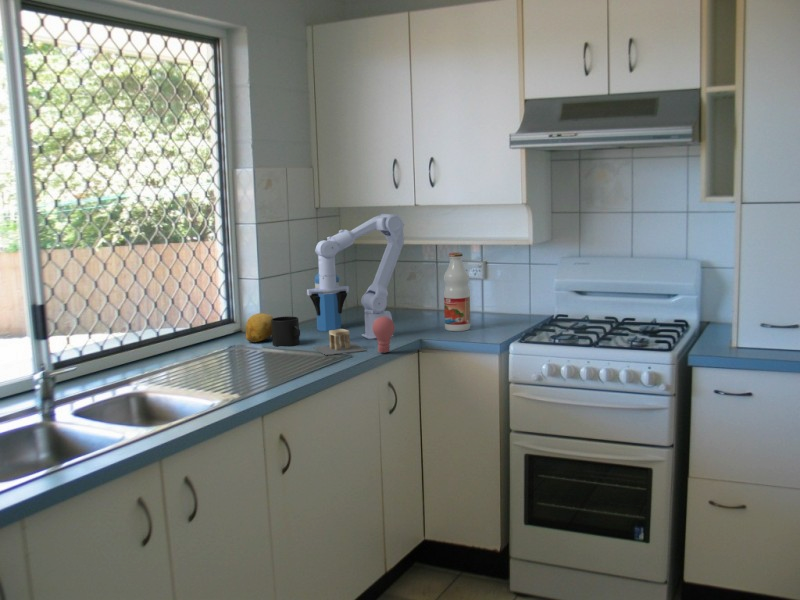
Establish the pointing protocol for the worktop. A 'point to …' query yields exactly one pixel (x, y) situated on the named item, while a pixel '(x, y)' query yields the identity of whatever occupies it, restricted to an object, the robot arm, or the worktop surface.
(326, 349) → the mat
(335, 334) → the stool
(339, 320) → the water bottle
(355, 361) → the worktop surface
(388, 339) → the light bulb
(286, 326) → the mug
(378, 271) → the robot arm
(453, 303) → the fruit juice
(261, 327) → the potato
